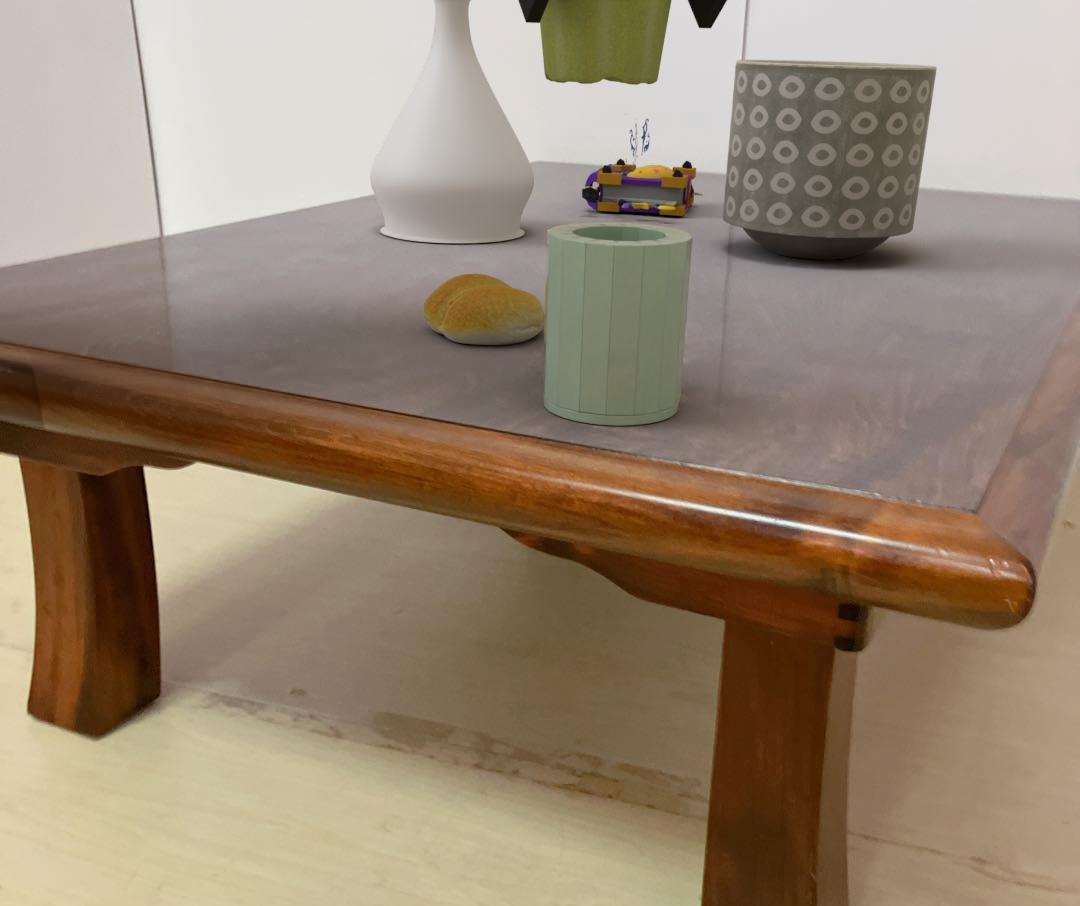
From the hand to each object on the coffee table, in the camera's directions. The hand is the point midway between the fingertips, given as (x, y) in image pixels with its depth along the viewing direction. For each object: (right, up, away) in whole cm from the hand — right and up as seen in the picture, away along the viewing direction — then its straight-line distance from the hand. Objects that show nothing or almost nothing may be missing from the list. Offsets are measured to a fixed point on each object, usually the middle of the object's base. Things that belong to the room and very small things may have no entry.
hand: (631, 5), depth 60 cm
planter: (+23, +2, +61) cm, 66 cm away
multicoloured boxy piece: (+8, +15, +90) cm, 91 cm away
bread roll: (-9, -12, +26) cm, 30 cm away
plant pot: (-1, -3, +4) cm, 5 cm away
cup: (-1, -19, +10) cm, 22 cm away
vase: (-14, +6, +68) cm, 69 cm away
